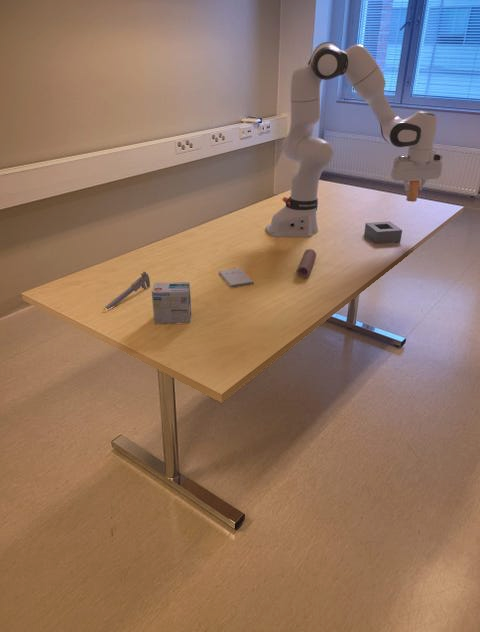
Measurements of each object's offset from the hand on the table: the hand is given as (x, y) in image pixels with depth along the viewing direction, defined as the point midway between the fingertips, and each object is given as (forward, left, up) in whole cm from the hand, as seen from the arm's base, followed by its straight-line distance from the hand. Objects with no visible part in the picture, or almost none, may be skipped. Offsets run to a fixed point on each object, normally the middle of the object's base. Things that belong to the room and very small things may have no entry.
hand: (413, 190), depth 205 cm
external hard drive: (-80, -29, -20) cm, 87 cm away
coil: (-53, -26, -19) cm, 62 cm away
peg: (0, 0, -4) cm, 4 cm away
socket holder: (-12, -2, -19) cm, 22 cm away
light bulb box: (-104, -53, -19) cm, 118 cm away
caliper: (-117, -37, -19) cm, 124 cm away
